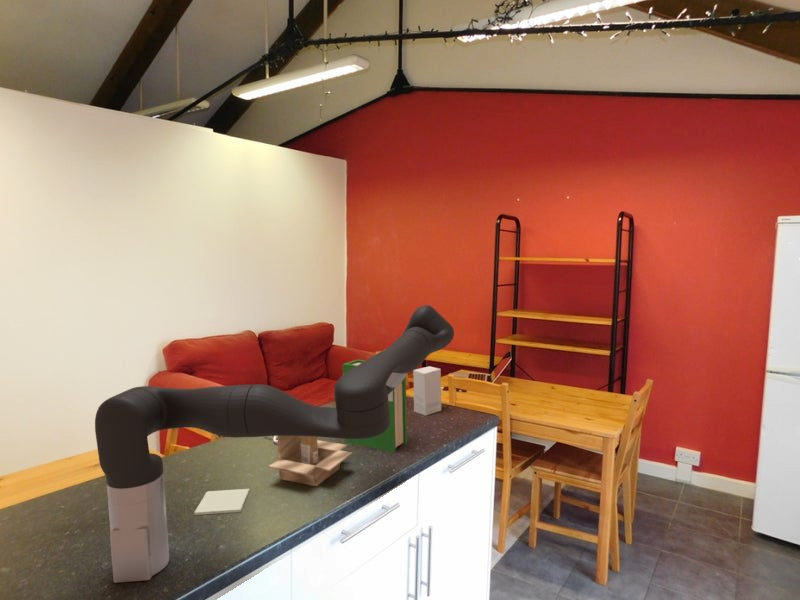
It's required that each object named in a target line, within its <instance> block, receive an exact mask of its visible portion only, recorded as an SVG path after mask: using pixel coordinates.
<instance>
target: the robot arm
mask: <svg viewBox="0 0 800 600" xmlns="http://www.w3.org/2000/svg"><path fill="white" fill-rule="evenodd" d="M454 336H455V329H454V327H453V326H452V324H450V322H448V320H446V318H444V317H443V316H442V315H441V314H440V313H439V312H438V311H437V309H435V308H434V307H433V306H432V305H429V304H424V305H420V306H419V307H417V308H416V309H415V310H414V311H413V313H412V315H411V316H410V319H409V321H408V323H407V325H406V328H405V330H404V331H403V333H402V334H401V335H400V336H399V337H397V339H395V341H393V343H392V344H391V345H389V346H388V347H386V348H385V349H383V350H381V351H379V352H378V353H376V354H374V355H373V356H371V357H369V358H368V359H366V360H365V361H364V362H363V363H361V364H359V365H357V366H356V367H354V368H352V369H351V370H349V371H348V372H346V373H345V374H344V375H343V374H342V375H341V376H340V377H339V379H338V380H336V382H335V385H334V390H333V391H334V392H333V393H334V395H333V396H334V403H335V407H332V406H331V407H327V406H318V405H314V404H310V403H307V402H305V401H304V400H303V401H302V400H300V399H298V398H297V397H295V396H293V395H291V394H289V393H287V392H286V391H283V390H281V389H279V388H277V387H273V386H271V385H267V384H259V383H257V384H256V383H255V384H235V385H233V384H232V385H221V386H220V385H219V386H208V387H200V388H199V387H198V388H178V387H177V388H175V387H174V388H173V387H163V386H161V387H160V386H150V385H147V386H146V385H144V386H143V385H141V386H136V387H133V388H130V389H127V390H125V391H122V392H121V393H118V394H116V395H113V396H111V397H109V398H107V399H106V400H104V401H103V402H102V403H101V404H100V405H99V407H98V408H97V411H96V414H95V417H94V430H95V440H96V446H97V454H98V461H99V465H100V468H101V470H102V472H103V474H104V476H105V479H106V490H107V491H106V492H107V503H108V505H107V506H108V507H107V508H108V516H109V519H108V520H109V529H110V530H109V531H110V532H109V538H110V539H109V540H110V551H111V565H112V577H113V583H115V584H117V583H127V582H131V583H132V582H141V581H150V580H151V579H152V577H153V576H154V575H156V574H158V573H159V572H161V571H163V570H164V569H165V567H167V566H168V565H169V562H170V552H169V551H170V550H169V549H170V548H169V537H168V523H167V522H168V521H167V508H166V507H167V504H166V492H165V474H164V473H165V472H164V461H163V457H161V456H160V455H158V454H156V453H150V449H149V440H148V436H151V435H152V434H154V433H156V432H158V431H159V432H160V431H163V430H171V429H182V428H183V429H185V428H192V429H194V428H195V429H198V430H202V431H205V432H208V433H210V434H212V435H215V436H218V437H223V438H234V439H235V438H238V439H239V438H259V437H261V438H262V437H274V436H316V437H317V438H319V437H320V438H331V439H332V438H333V439H343V440H345V439H366V438H371V437H375V436H378V435H380V434H382V433H384V432H385V431H386V430H387V429H388V427H389V425H390V410H389V402H388V395H389V394H390V393H391V392H392V391H393V390H394V389H395V388H396V387H397V386H398V385H399V384H400V383H401V382H402V381H403V380H404V378H405V377H407V376H408V374H409V373H410V372H413V370H416V369H418V368H419V366H421V364H422V363H424V361H425V360H426V359H427V358H428V356H430V355H431V354H434V353H436V352H438V351H440V350H443V349H444V348H446V347H447V346H448V345H450V343H451V342H452V341H453V339H454Z"/></svg>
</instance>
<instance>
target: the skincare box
mask: <svg viewBox="0 0 800 600" xmlns="http://www.w3.org/2000/svg"><path fill="white" fill-rule="evenodd" d="M441 371H442V369H441V368H439V367H433V366H430V365H429V366H426V367H420V368H416V369H415V370H413V371H412V375H413V412H414V413H417V414H419V415H423V416H429V415H431V414H435V413H438V412H441V411H442V381H441V380H442V379H441V378H442V376H441V375H442V374H441Z"/></svg>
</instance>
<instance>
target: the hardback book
mask: <svg viewBox="0 0 800 600" xmlns="http://www.w3.org/2000/svg"><path fill="white" fill-rule="evenodd" d="M364 361H366V360H363V359H354V360H352V361H349V362H346V363H345V362H344V363H343V364H342V376H343V375H344V374H345V373H346V372H348V371H349V370H351V369H352V368H354V367H356V366H357V365H359V364H361V363H363V362H364ZM406 377H407V376H406ZM406 377H405V378H404V380H403V381H402V382H401V383H400V384H399V385H398V386H397V387H396V388H395V389H394V390H393V391H392V392H391V393H390V394H389V395H388V402H389V410H390V425H389V427H388V429H387V430H386V431H385V432H384V433H382V434H380V435H378V436H375V437H371V438H366V439H344V442H345V443H350V444H354V445H357V446H358V445H359V446H361V447H362V446H363V447H367V448H372V449H375V450H376V449H377V450H381V451H386V452H390V453H395V452H396V451H397V448H398V446H400V445H403V446H406V445H408V432H407V431H408V426H407V425H408V423H407V421H408V419H407V418H408V417H407V416H408V415H407V378H406Z"/></svg>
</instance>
